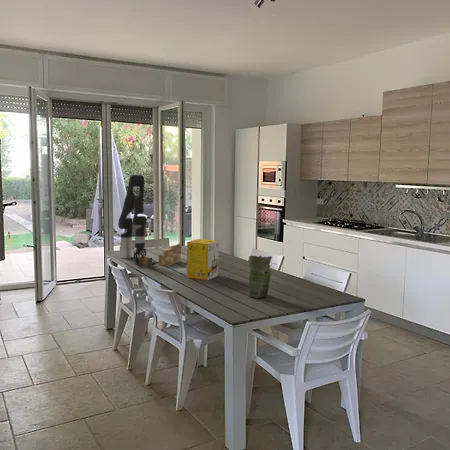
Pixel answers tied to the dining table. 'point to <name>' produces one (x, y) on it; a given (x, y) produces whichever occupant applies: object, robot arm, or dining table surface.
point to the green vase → (259, 276)
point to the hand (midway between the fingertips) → (140, 262)
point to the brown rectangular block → (144, 261)
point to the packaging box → (202, 259)
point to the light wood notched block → (170, 255)
